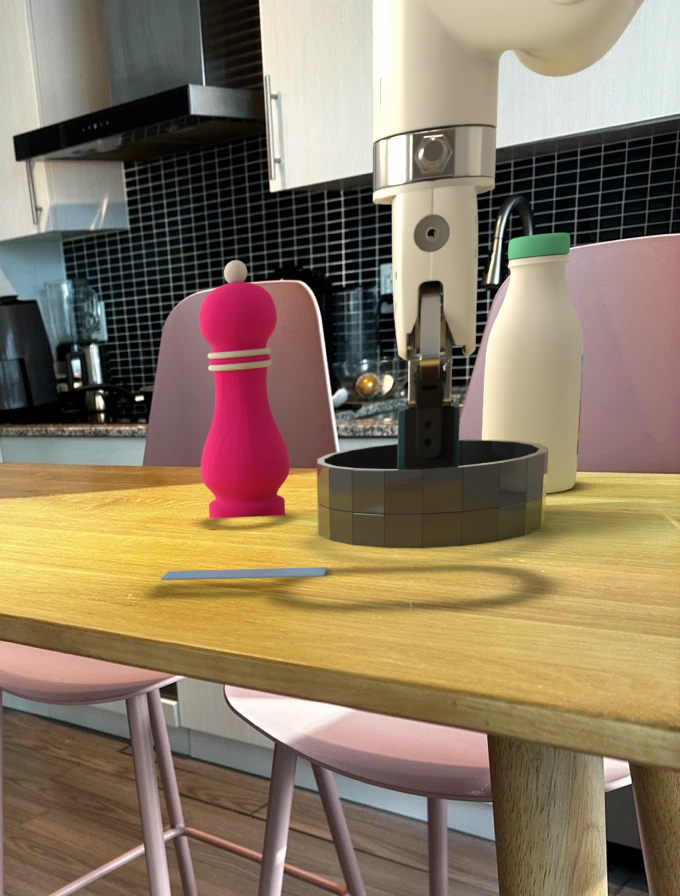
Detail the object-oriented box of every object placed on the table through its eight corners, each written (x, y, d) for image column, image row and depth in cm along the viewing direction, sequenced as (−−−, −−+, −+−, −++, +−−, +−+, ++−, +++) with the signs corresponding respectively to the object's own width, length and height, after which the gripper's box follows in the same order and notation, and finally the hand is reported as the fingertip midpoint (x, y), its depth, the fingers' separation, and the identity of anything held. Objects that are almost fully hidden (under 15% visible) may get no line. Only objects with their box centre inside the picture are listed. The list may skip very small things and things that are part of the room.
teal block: (457, 460, 73) (458, 401, 72) (458, 468, 70) (459, 406, 68) (399, 463, 74) (399, 405, 73) (397, 471, 71) (397, 410, 69)
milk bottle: (576, 495, 84) (593, 226, 77) (477, 498, 87) (485, 238, 80) (575, 480, 91) (591, 232, 84) (483, 483, 93) (491, 243, 86)
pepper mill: (232, 513, 90) (219, 265, 83) (306, 515, 86) (299, 255, 79) (187, 529, 85) (169, 265, 78) (264, 532, 81) (252, 254, 74)
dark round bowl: (476, 512, 81) (479, 434, 79) (588, 546, 67) (595, 452, 65) (291, 535, 79) (288, 454, 77) (365, 574, 65) (364, 478, 62)
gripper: (503, 144, 57) (491, 479, 63) (489, 178, 72) (480, 446, 78) (364, 162, 59) (366, 485, 65) (379, 191, 74) (379, 451, 80)
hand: (428, 461), depth 72 cm, fingers closed on teal block, 4 cm apart
